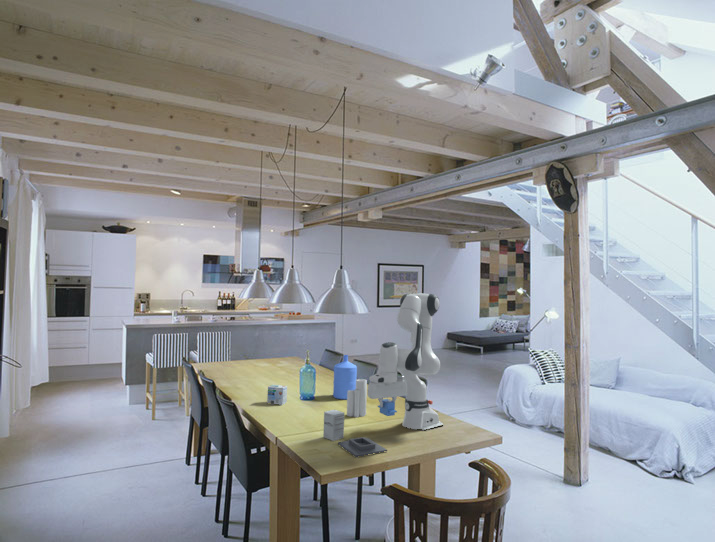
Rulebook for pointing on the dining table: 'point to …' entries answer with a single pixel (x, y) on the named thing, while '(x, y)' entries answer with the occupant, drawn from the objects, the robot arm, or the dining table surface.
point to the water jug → (344, 378)
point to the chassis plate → (361, 446)
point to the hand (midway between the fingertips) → (387, 406)
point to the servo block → (388, 408)
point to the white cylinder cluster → (357, 399)
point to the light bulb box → (277, 394)
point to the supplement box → (333, 425)
